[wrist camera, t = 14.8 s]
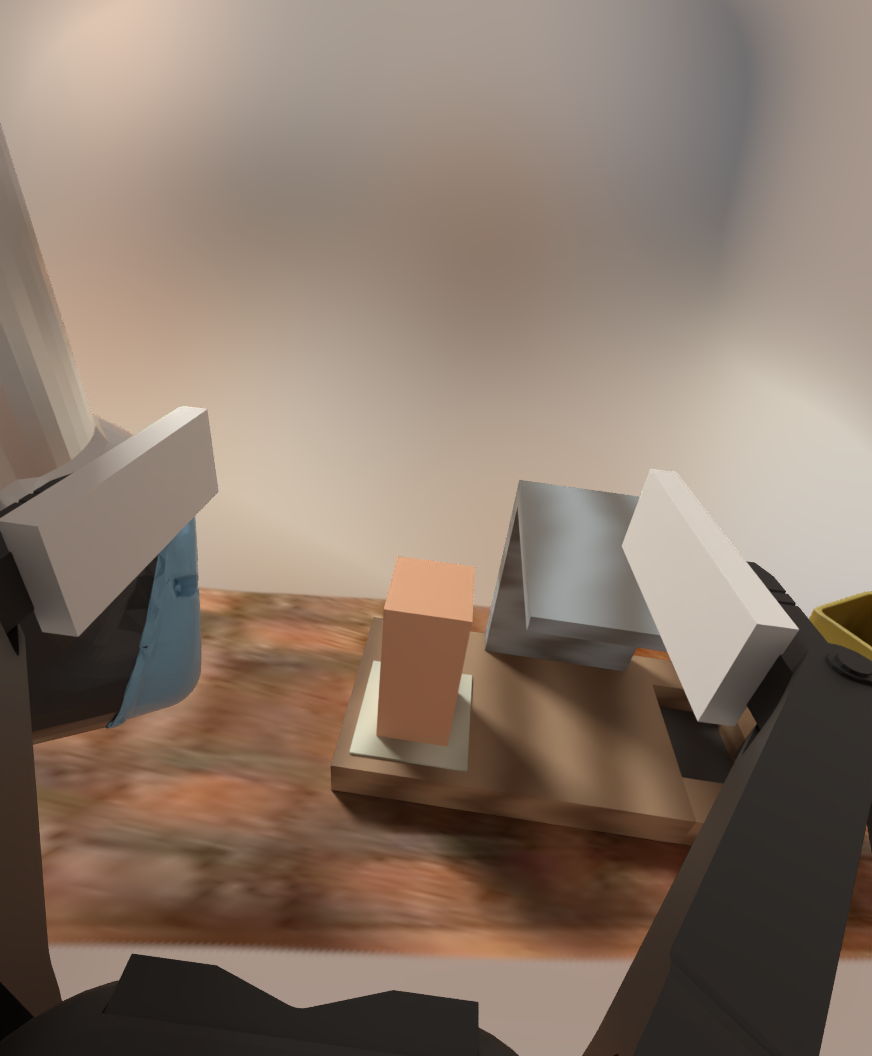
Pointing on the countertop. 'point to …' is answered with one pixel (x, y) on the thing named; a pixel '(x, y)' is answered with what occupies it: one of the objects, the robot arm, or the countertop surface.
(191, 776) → the countertop surface
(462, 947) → the countertop surface
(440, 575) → the orange block
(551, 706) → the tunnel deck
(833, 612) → the flower pot
